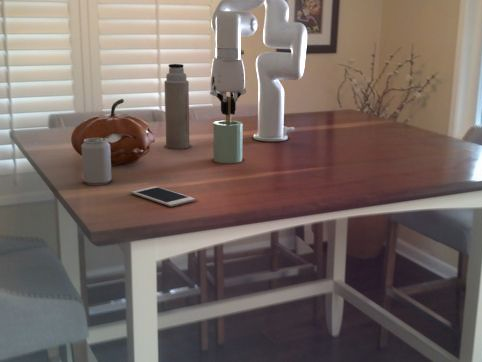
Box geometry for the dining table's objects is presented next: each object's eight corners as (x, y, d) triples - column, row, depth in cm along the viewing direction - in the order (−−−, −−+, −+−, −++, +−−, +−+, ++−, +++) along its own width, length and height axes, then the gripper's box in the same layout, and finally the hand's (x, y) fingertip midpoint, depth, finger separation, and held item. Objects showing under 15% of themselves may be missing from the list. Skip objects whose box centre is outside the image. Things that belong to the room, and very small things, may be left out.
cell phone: (170, 207, 162) (170, 204, 162) (131, 193, 172) (131, 191, 172) (195, 200, 167) (195, 198, 167) (155, 188, 178) (155, 185, 178)
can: (86, 178, 186) (84, 136, 183) (114, 178, 186) (112, 136, 183) (80, 185, 179) (78, 141, 175) (109, 185, 179) (107, 142, 176)
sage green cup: (233, 155, 218) (234, 119, 215) (247, 161, 211) (247, 124, 208) (208, 158, 213) (208, 121, 210) (221, 164, 206) (221, 126, 203)
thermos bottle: (192, 144, 233) (191, 63, 226) (184, 149, 225) (183, 65, 218) (171, 143, 234) (169, 62, 227) (162, 147, 227) (160, 64, 220)
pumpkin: (116, 175, 190) (113, 109, 185) (54, 163, 202) (50, 101, 197) (172, 159, 211) (171, 99, 206) (113, 149, 223) (110, 92, 218)
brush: (230, 148, 214) (230, 95, 209) (236, 150, 211) (236, 96, 206) (220, 149, 212) (220, 95, 207) (225, 151, 209) (225, 97, 204)
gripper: (245, 52, 211) (244, 110, 215) (199, 53, 202) (200, 114, 207) (256, 54, 204) (256, 114, 209) (210, 55, 196) (210, 117, 201)
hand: (228, 113), depth 208 cm, fingers closed on brush
